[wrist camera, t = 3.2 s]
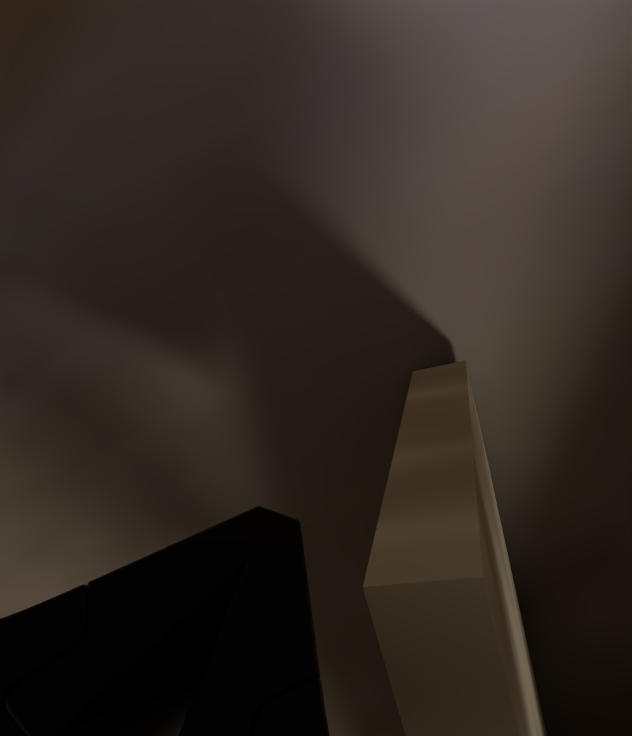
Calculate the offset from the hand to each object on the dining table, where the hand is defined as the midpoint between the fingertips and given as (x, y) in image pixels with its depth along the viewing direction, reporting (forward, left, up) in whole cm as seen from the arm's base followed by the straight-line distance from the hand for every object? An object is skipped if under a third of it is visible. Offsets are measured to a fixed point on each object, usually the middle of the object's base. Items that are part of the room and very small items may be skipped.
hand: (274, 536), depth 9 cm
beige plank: (-4, -6, -3) cm, 8 cm away
